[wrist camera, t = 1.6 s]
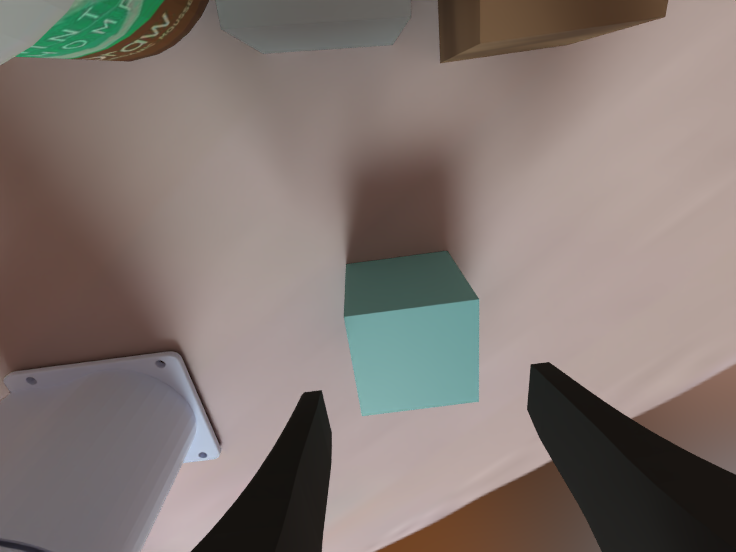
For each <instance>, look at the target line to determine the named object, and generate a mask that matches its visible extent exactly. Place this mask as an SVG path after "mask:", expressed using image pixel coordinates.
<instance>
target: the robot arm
mask: <svg viewBox="0 0 736 552" xmlns="http://www.w3.org/2000/svg"><path fill="white" fill-rule="evenodd" d="M159 360H161V361H163V362H164V363H162V362H160V361H159ZM3 381H4V384H5V385H6V387H7V388H8V390H9V391H10V392H11V393H10V394H9V395H7V396H6V397H5V398H4V399H3V400H1V401H0V552H141V550H142V548H143V545H144V543H145V541H146V539H147V537H148V535H149V533H150V531H151V529H152V526H153V524H154V522H155V520H156V518H157V516H158V514H159V512H160V510H161V508H162V505H163V503H164V501H165V499H166V497H167V495H168V493H169V491H170V489H171V487H172V484H173V482H174V480H175V478H176V476H177V474H178V472H179V470H180V468H181V466H182V463H187V462H195V461H203V460H211V459H216V458H218V457H219V455H220V453H221V447H220V445H219V443H218V440H217V438H216V436H215V433H214V431H213V429H212V426H211V424H210V422H209V419H208V417H207V415H206V413H205V410H204V408H203V406H202V403H201V401H200V399H199V396H198V394H197V392H196V389H195V387H194V385H193V382H192V380H191V378H190V375H189V373H188V371H187V369H186V366H185V364H184V362H183V359H182V357H181V356H180V355H179V354H178V353H176V352H173V351H168V352H161V353H153V354H145V355H137V356H130V357H122V358H114V359H107V360H99V361H91V362H84V363H76V364H68V365H60V366H53V367H45V368H37V369H30V370H22V371H14V372H11V373H9V374H8V375H7V376H5V378H4V380H3ZM527 410H528V412H529V415H530V417H531V419H532V422H533V424H534V427H535V429H536V431H537V433H538V435H539V438H540V439H541V441H542V443H543V445H544V447H545V448H546V450H547V452H548V453H549V455H550V457H551V459H552V460H553V462H554V464H555V465H556V467H557V469H558V471H559V472H560V474H561V475H562V477H563V479H564V481H565V482H566V484H567V486H568V488H569V489H570V491H571V493H572V494H573V496H574V498H575V500H576V501H577V503H578V504H579V507H580V508H581V510H582V512H583V514H584V516H585V517H586V519H587V522H588V523H589V525H590V528H591V530H592V532H593V534H594V536H595V538H596V540H597V543H598V545H599V547H600V549H601V551H602V552H736V475H735V474H733V473H731V472H729V471H726V470H724V469H722V468H720V467H718V466H716V465H714V464H712V463H710V462H708V461H706V460H704V459H701V458H700V457H697V456H696V455H694V454H692V453H690V452H688V451H686V450H684V449H682V448H680V447H678V446H677V445H675V444H673V443H671V442H670V441H668V440H666V439H664V438H662V437H660V436H659V435H657V434H655V433H653V432H651V431H650V430H648V429H647V428H645V427H643V426H642V425H640V424H638V423H637V422H635V421H634V420H632V419H630V418H629V417H627V416H626V415H624V414H622V413H621V412H619V411H618V410H616V409H615V408H613V407H612V406H610V405H609V404H607V403H606V402H604V401H603V400H601V399H600V398H598V397H597V396H596V395H594V394H593V393H591V392H590V391H588V390H587V389H586V388H584V387H583V386H581V385H580V384H579V383H577V382H576V381H574V380H573V379H572V378H570V377H569V376H568V375H566V374H565V373H563V372H562V371H561V370H559V369H558V368H556V367H555V366H554V365H552V364H551V363H549V362H546V363H538V364H531V368H530V381H529V393H528V405H527ZM331 456H332V432H331V428H330V424H329V419H328V415H327V411H326V407H325V403H324V399H323V394H322V390H320V391H312V392H304V393H303V394H302V396H301V398H300V400H299V402H298V404H297V406H296V408H295V410H294V412H293V414H292V415H291V417H290V419H289V421H288V423H287V425H286V426H285V428H284V430H283V432H282V433H281V435H280V437H279V438H278V440H277V442H276V444H275V445H274V447H273V449H272V450H271V452H270V453H269V455H268V456H267V458H266V459H265V461H264V462H263V464H262V465H261V467H260V469H259V470H258V471H257V473H256V474H255V476H254V477H253V479H252V480H251V481H250V483H249V484H248V485H247V487H246V488H245V489H244V491H243V492H242V493H241V495H240V496H239V497H238V499H237V500H236V501H235V502H234V504H233V505H232V506H231V507H230V508H229V510H228V511H227V512H226V513H225V514H224V516H223V517H222V518H221V519H220V520H219V522H218V523H217V524H216V525H215V526H214V527H213V528H212V530H211V531H210V532H209V533H208V534H207V535H206V536H205V537H204V538H203V539H202V540H201V541H200V542H199V543H198V545H197V546H196V547H195V548H194V549H193V550H192V551H191V552H322V540H323V530H324V521H325V513H326V505H327V496H328V488H329V479H330V471H331Z"/></svg>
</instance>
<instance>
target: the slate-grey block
mask: <svg viewBox="0 0 736 552" xmlns="http://www.w3.org/2000/svg"><path fill="white" fill-rule="evenodd" d="M215 1H216V6H217V11H218V16H219V21H220V26H221V30H223V31H225V32H227V33H228V34H230V35H232V36H233V37H235V38H237V39H239V40H240V41H242V42H244V43H245V44H247V45H249V46H251V47H252V48H254V49H256V50H257V51H259V52H261V53H263V54H267V53H281V52H296V51H311V50H326V49H341V48H356V47H371V46H386V45H393V44H394V42H395V41H396V39H397V37H398V36H399V34H400V33H401V31H402V30H403V28H404V27H405V25H406V24H407V22H408V21H409V19H410V18H411V0H215Z"/></svg>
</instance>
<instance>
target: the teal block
mask: <svg viewBox="0 0 736 552" xmlns="http://www.w3.org/2000/svg"><path fill="white" fill-rule="evenodd" d="M344 320H345V326H346V331H347V337H348V342H349V348H350V353H351V359H352V364H353V370H354V375H355V381H356V386H357V392H358V397H359V402H360V408H361V413H362V416H367V415H375V414H383V413H391V412H399V411H407V410H415V409H423V408H431V407H439V406H447V405H455V404H463V403H471V402H479V298H478V297H477V295H476V294H475V292H474V291H473V289H472V288H471V286H470V285H469V283H468V282H467V280H466V279H465V277H464V275H463V274H462V272H461V271H460V269H459V268H458V266H457V265H456V263H455V262H454V260H453V259H452V257H451V256H450V254H449V253H448V251H441V252H434V253H426V254H419V255H411V256H404V257H396V258H389V259H381V260H374V261H366V262H359V263H351V264H346V276H345V301H344Z"/></svg>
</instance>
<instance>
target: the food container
mask: <svg viewBox="0 0 736 552" xmlns="http://www.w3.org/2000/svg"><path fill="white" fill-rule="evenodd" d="M208 2H209V0H0V65H2V64H3V63H5V62H7V61H8V60H10V59H12V58H13V57H37V58H60V59H84V60H108V61H134V60H138V59H142V58H145V57H149V56H153V55H157V54H160V53H161V52H163V51H165V50H167V49H169V48H170V47H172V46H174V45H175V44H176V43H178V42H179V41H180V40H181V39H182V38H183V37H184V36H186V35H187V34H188V33H189V32H190V31H191V29H192V28H193V27H194V25H195V24H196V23H197V21H198V20H199V19H200V17H201V16H202V14H203V12H204V10H205V8H206V6H207V4H208Z"/></svg>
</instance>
